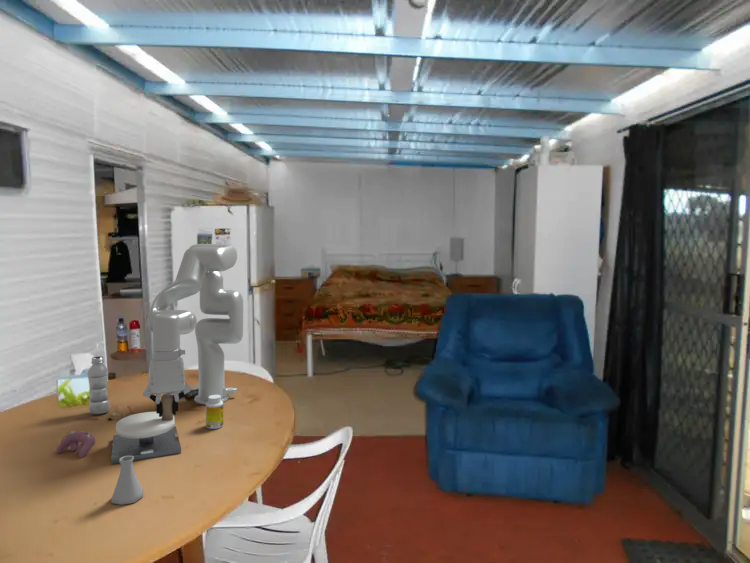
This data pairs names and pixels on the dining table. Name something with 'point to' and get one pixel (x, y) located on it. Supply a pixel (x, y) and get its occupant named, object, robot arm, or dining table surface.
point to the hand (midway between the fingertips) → (167, 414)
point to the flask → (127, 484)
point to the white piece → (148, 422)
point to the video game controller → (77, 442)
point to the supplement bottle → (214, 412)
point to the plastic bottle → (98, 386)
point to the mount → (146, 446)
